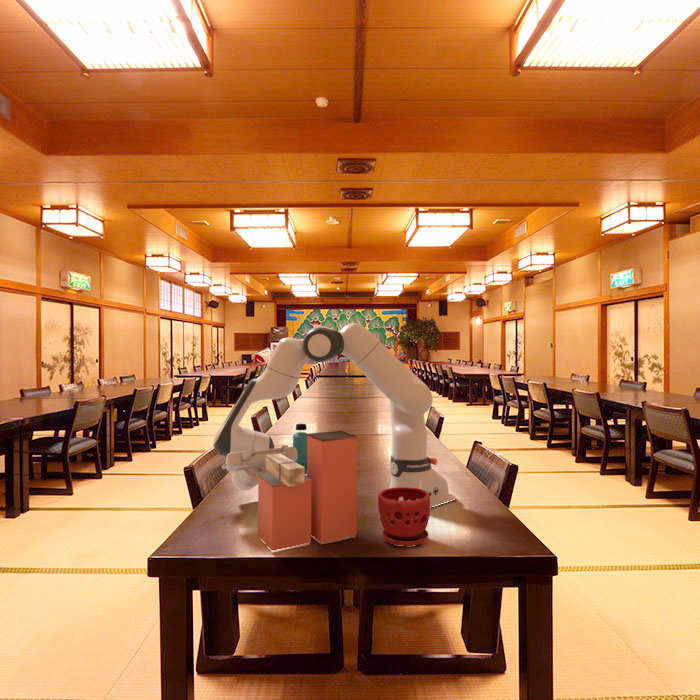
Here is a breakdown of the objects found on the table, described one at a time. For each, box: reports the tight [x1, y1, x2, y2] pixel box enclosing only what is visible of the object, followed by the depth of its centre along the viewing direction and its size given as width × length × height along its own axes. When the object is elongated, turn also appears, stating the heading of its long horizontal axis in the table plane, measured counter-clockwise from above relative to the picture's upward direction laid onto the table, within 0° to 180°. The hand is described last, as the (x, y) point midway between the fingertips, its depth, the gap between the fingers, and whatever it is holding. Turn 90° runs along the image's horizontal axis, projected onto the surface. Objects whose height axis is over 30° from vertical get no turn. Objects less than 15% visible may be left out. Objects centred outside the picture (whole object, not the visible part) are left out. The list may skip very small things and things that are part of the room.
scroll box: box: [266, 454, 305, 487], centre depth 115 cm, size 4×17×4 cm, turn 28°
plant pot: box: [377, 487, 431, 546], centre depth 116 cm, size 13×13×12 cm
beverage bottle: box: [291, 423, 308, 475], centre depth 174 cm, size 6×7×20 cm
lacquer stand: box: [257, 430, 358, 550], centre depth 117 cm, size 22×12×26 cm, turn 118°
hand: (269, 449), depth 125 cm, fingers open, 8 cm apart
